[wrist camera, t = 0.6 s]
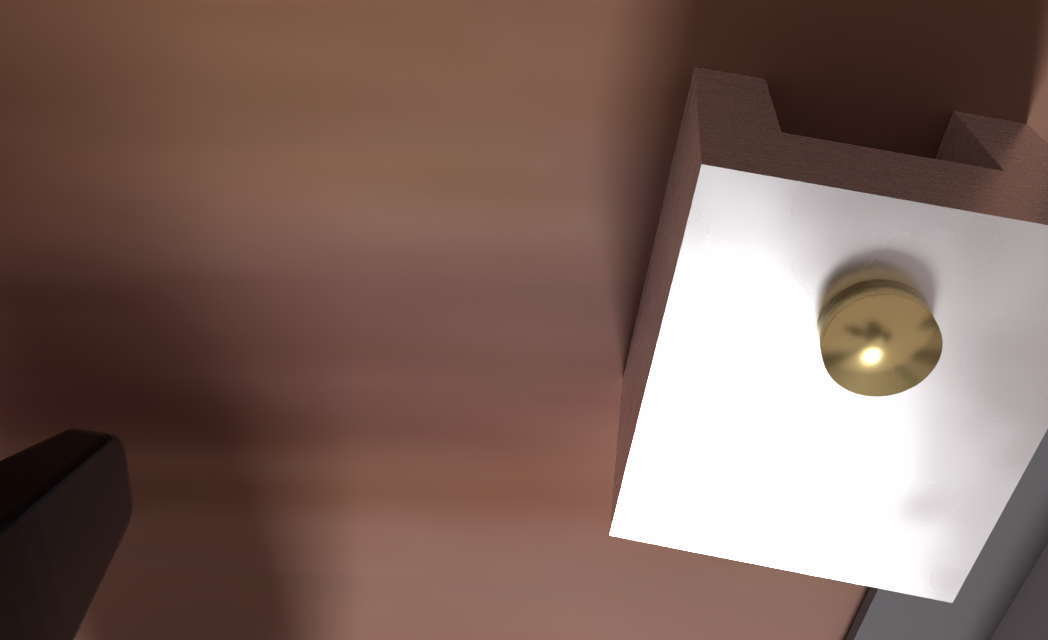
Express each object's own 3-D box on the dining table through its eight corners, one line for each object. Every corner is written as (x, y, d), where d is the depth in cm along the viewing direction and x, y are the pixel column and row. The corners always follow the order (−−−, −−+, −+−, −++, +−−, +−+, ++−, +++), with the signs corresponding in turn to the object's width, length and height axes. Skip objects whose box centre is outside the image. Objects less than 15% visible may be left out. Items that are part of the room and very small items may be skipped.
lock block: (893, 428, 20) (961, 630, 15) (622, 377, 20) (607, 560, 16) (1025, 122, 16) (1169, 263, 12) (694, 66, 17) (702, 180, 12)
